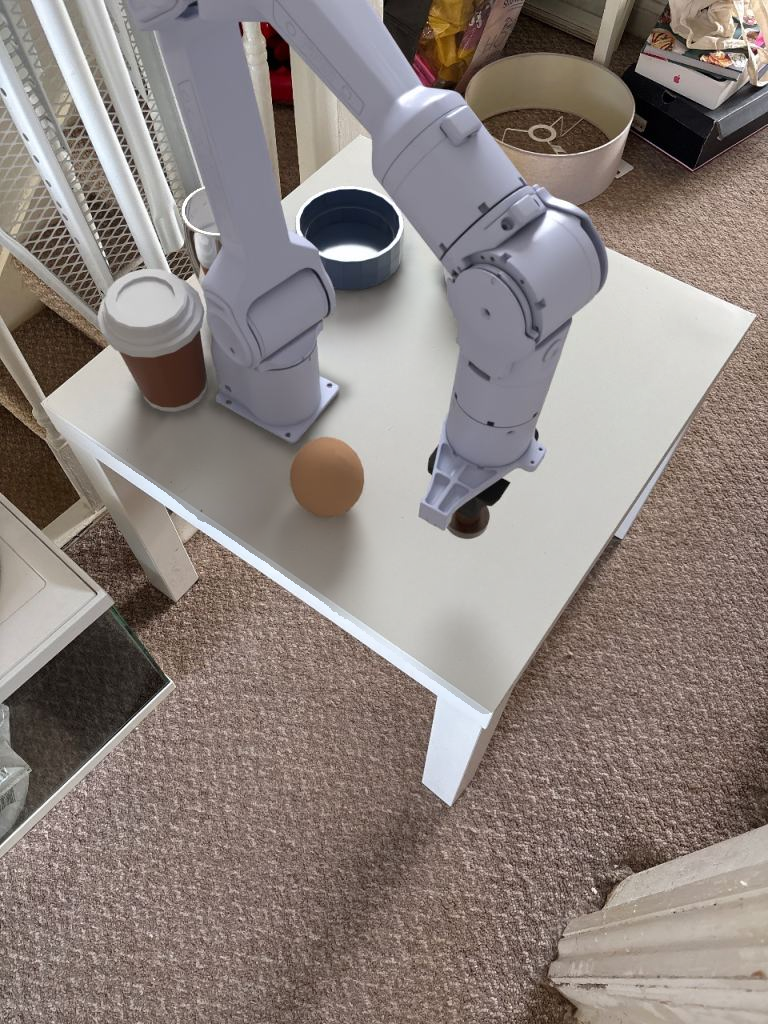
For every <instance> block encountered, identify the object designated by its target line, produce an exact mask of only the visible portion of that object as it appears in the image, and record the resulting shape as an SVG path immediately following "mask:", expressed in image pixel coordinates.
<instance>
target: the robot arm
mask: <svg viewBox="0 0 768 1024" xmlns="http://www.w3.org/2000/svg"><path fill="white" fill-rule="evenodd" d="M124 2H125V4H126V6H127V9H128V11H129V12H130V15H131V18H132V21H133V25H134V26H135V29H137V31H138V32H153V31H154V34H155V37H156V40H157V42H158V46H159V50H160V52H161V56H162V59H163V61H164V66H165V69H166V71H167V74H168V79H169V81H170V84H171V87H172V90H173V93H174V97H175V100H176V104H177V106H178V110H179V113H180V115H181V119H182V122H183V125H184V128H185V131H186V135H187V137H188V140H189V144H190V146H191V150H192V154H193V156H194V160H195V162H196V163H195V164H196V165H197V166H196V167H197V169H198V172H199V175H200V178H201V181H202V184H203V187H204V188H205V191H206V194H207V197H208V200H209V204H210V207H211V210H212V213H213V216H214V219H215V222H216V226H217V229H218V232H219V235H220V238H221V241H222V247H221V249H220V252H219V253H218V255H217V257H216V258H215V260H214V262H213V264H212V265H211V267H210V269H209V271H208V272H207V274H206V276H205V277H204V279H203V282H202V284H201V286H200V288H201V287H202V288H201V290H202V293H203V297H204V302H205V306H206V307H205V309H206V313H205V314H206V317H205V318H206V324H207V326H208V329H209V332H210V333H211V335H212V339H211V344H210V354H211V359H212V362H213V367H214V370H215V375H216V380H217V382H218V386H219V390H220V391H219V392H218V393H217V394H216V395H215V402H216V403H217V404H219V405H220V406H223V407H224V408H226V409H228V410H230V411H232V412H233V413H235V414H237V415H238V416H240V417H242V418H243V419H246V420H247V421H249V422H251V423H253V424H254V425H257V426H258V427H260V428H262V429H263V430H265V431H267V432H269V433H271V434H272V435H274V436H276V437H278V438H279V439H282V440H283V441H285V442H287V443H288V444H291V445H294V444H296V443H297V442H299V440H300V439H301V438H302V436H303V435H304V434H305V433H306V432H307V430H308V429H309V428H310V427H311V426H312V425H313V423H314V422H315V421H316V419H318V417H319V416H320V415H321V413H323V411H325V409H326V407H328V405H329V404H330V403H331V402H332V400H333V399H334V398H335V397H336V396H337V395H338V393H339V391H340V387H339V385H338V384H336V383H335V382H333V381H331V380H329V379H328V378H325V377H323V376H321V375H320V363H319V349H318V347H319V346H318V336H319V334H321V332H322V331H324V322H323V320H325V319H327V318H329V317H330V316H332V315H333V313H334V312H335V310H336V293H335V288H333V285H332V282H331V280H330V278H329V276H328V274H327V273H326V271H325V269H324V267H323V264H322V262H321V259H320V255H319V251H318V249H317V248H316V247H315V246H314V245H313V244H312V243H311V242H309V241H308V240H307V239H306V238H304V237H302V236H301V235H299V234H297V233H296V231H295V232H294V231H292V230H288V226H287V222H286V218H285V213H284V209H283V205H282V201H281V197H280V193H279V192H280V191H279V189H278V184H277V180H276V176H275V172H274V167H273V163H272V159H271V155H270V151H269V147H268V142H267V139H266V133H265V130H264V126H263V122H262V117H261V113H260V109H259V105H258V101H257V97H256V92H255V88H254V84H253V79H252V75H251V71H250V66H249V62H248V59H247V53H246V51H245V45H244V43H243V37H242V34H241V29H240V25H239V24H240V23H268V24H270V26H271V27H272V28H273V29H274V31H276V32H277V33H278V34H279V35H280V37H281V38H282V39H283V40H284V41H285V43H287V44H288V45H289V47H290V48H291V49H292V50H293V51H294V52H295V53H296V54H297V55H298V57H299V58H300V59H301V60H302V61H303V63H305V65H307V66H308V67H309V69H310V70H311V71H312V72H313V73H314V74H315V75H316V76H317V78H319V79H320V81H321V82H322V83H323V84H324V85H325V86H326V87H327V88H328V90H330V92H331V93H332V94H333V95H334V96H335V98H337V99H338V101H339V102H340V103H341V104H342V106H344V107H345V109H346V110H347V111H349V113H350V114H351V115H352V116H353V117H354V119H356V121H358V123H359V124H360V125H361V126H362V127H363V128H364V129H365V130H366V132H367V133H368V134H369V135H370V137H371V172H372V175H373V177H374V178H375V179H376V180H377V182H378V183H379V185H380V186H381V187H382V188H383V189H384V191H385V192H386V193H387V195H388V196H389V197H390V200H391V201H392V202H394V203H395V204H396V205H397V207H398V209H399V210H400V212H401V214H402V215H403V217H405V218H406V220H407V221H408V222H409V224H411V226H412V228H413V229H414V230H415V231H416V232H417V234H418V235H419V237H420V238H421V239H422V241H424V243H425V244H426V245H427V247H428V248H429V249H430V251H431V252H432V253H433V255H435V257H436V258H437V260H438V262H440V263H441V265H442V266H443V268H444V267H445V269H446V270H447V271H448V272H449V274H450V275H451V276H452V278H453V280H452V279H451V278H447V283H446V282H445V284H446V295H447V300H448V304H449V307H450V310H451V313H452V314H453V316H454V319H455V322H456V326H457V334H456V339H455V340H456V341H455V343H456V344H457V346H458V347H459V348H458V358H457V362H456V369H455V373H454V380H453V385H452V391H451V395H450V396H451V397H450V400H449V401H450V402H449V408H448V412H447V414H446V415H445V417H444V420H443V424H442V429H441V433H440V438H439V442H438V444H437V445H436V447H435V448H434V450H433V451H432V453H431V454H430V455H429V458H428V462H427V473H428V474H429V475H430V476H431V478H430V481H429V484H428V488H427V489H426V492H425V494H424V495H423V497H422V498H421V500H420V502H419V509H418V515H417V516H418V518H420V519H422V520H423V521H425V522H426V523H428V524H430V525H433V526H434V527H435V528H436V529H437V528H438V529H439V530H440V531H446V529H447V526H448V525H449V523H450V522H451V518H452V514H453V513H454V512H455V511H456V512H458V513H459V514H461V515H463V516H465V517H467V518H468V519H470V520H472V519H474V518H475V517H476V516H477V515H478V514H479V512H480V511H481V509H482V508H483V507H484V506H487V507H493V506H494V505H495V504H497V503H498V502H499V501H500V499H502V497H503V495H504V494H505V492H506V490H507V489H508V488H509V487H510V484H511V481H509V480H508V479H506V478H504V477H506V476H507V475H508V474H510V473H512V472H513V471H514V470H516V469H521V470H523V471H525V472H528V473H534V472H535V471H537V469H538V468H539V466H540V465H541V463H542V462H543V460H544V458H545V456H546V452H547V448H546V446H545V445H543V444H542V443H540V442H539V441H538V440H539V438H540V434H539V431H538V429H537V425H538V421H539V418H540V415H541V413H542V410H543V407H544V404H545V403H546V399H547V396H548V393H549V390H550V388H551V385H552V382H553V378H554V375H555V373H556V371H557V367H558V366H559V365H558V364H559V362H560V359H561V356H562V353H563V349H564V346H565V343H566V341H567V338H568V335H569V332H570V330H571V326H572V323H573V316H575V315H576V314H577V313H578V312H579V311H581V310H582V309H583V308H584V307H586V306H588V304H589V303H591V302H592V301H593V300H594V298H595V297H596V296H597V295H599V293H600V292H601V290H602V289H603V288H604V287H605V284H606V281H607V279H608V273H609V259H608V253H607V249H606V246H605V243H604V241H603V239H602V237H601V235H600V233H599V232H598V230H597V228H596V227H595V225H594V223H593V221H592V218H591V217H590V216H589V215H588V214H587V213H586V212H585V211H584V210H583V209H581V208H580V207H578V206H577V205H575V204H573V203H572V202H569V201H566V200H564V199H561V198H557V197H555V196H553V195H552V194H551V193H550V192H549V191H548V190H547V189H546V188H545V186H542V187H541V186H540V185H539V184H538V183H535V184H533V185H532V186H530V185H529V183H528V182H527V180H526V179H525V178H524V177H523V176H522V174H521V173H520V172H519V170H518V169H517V167H516V166H515V165H514V164H513V162H512V161H511V160H510V158H509V157H508V155H507V154H506V153H505V152H504V150H503V149H502V148H501V146H500V145H499V144H498V142H497V141H496V140H495V138H494V137H493V136H492V134H491V133H490V132H489V130H488V129H487V128H486V127H485V125H484V124H483V122H482V121H481V120H480V119H479V117H478V116H477V115H476V113H475V112H474V111H473V110H472V108H471V107H470V106H469V104H468V103H467V101H466V100H465V99H464V96H462V95H461V93H459V92H457V91H454V90H450V89H443V88H435V87H428V86H424V84H423V82H422V81H421V80H420V78H419V76H418V75H417V74H416V72H415V70H414V69H413V67H412V65H411V64H410V62H409V61H408V59H407V58H406V56H405V55H404V53H403V52H402V50H401V48H400V47H399V45H398V44H397V42H396V40H395V39H394V38H393V36H392V34H391V33H390V32H389V29H388V28H387V26H386V25H385V23H384V22H383V20H382V19H381V17H380V15H379V14H378V13H377V11H376V9H375V8H374V6H373V5H372V3H371V2H370V0H124Z"/></svg>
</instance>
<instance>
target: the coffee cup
mask: <svg viewBox="0 0 768 1024" xmlns="http://www.w3.org/2000/svg"><path fill="white" fill-rule="evenodd" d="M205 312H206V311H205V307H204V304H203V302H202V299H201V296H200V293H199V292H198V291H197V290H196V289H195V288H194V287H193V286H191V285H190V283H188V282H187V281H186V280H184V279H181V278H180V277H178V276H177V275H175V274H174V273H172V272H168V271H166V270H163V269H160V268H159V269H157V268H156V269H155V268H142V269H138V270H134V271H130V272H128V273H126V274H124V275H123V276H121V277H119V278H117V279H116V280H115V281H114V282H113V283H112V284H111V285H110V287H109V288H108V289H107V290H106V293H105V297H104V298H103V299H102V300H101V302H100V305H99V308H98V312H97V316H96V319H97V324H98V327H99V331H100V334H101V336H102V339H103V340H104V341H106V343H107V344H109V346H111V347H112V349H114V351H117V352H119V354H120V356H121V358H122V360H123V362H124V363H125V366H126V367H127V369H128V370H129V372H130V374H131V376H132V378H133V380H134V382H135V384H136V385H137V387H138V389H139V390H140V393H141V394H142V397H143V399H144V400H145V401H146V403H148V404H149V405H150V406H151V408H154V409H157V410H159V411H162V412H175V413H177V412H180V411H183V410H187V409H190V408H191V407H193V406H194V405H196V404H197V403H199V402H200V401H201V400H202V399H203V397H204V395H205V394H206V393H207V388H208V382H209V380H208V377H207V369H206V363H205V355H204V348H203V341H202V335H201V329H202V328H203V324H204V317H205Z"/></svg>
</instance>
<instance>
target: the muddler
mask: <svg viewBox="0 0 768 1024" xmlns="http://www.w3.org/2000/svg"><path fill="white" fill-rule="evenodd" d="M490 515H491V514H490V510H489V506H484V507H483V508H482V509H481V511H480V512H479V514H478V515H477V516H476V517H475V518H474V519H472V520H470V519H468V518H467V517H465V516H463V515H461V514H459V513H458V512H456V511H455V512H454V513H453V514H452V518H451V522H450V523H449V525H448V526H447V528H446V529H447V530H448V532H449V533H450V534H452V535H453V536H455V537H456V538H459V539H464V540H472V539H475V538H478V537H480V536H482V535H483V534H484V533H485V531H486V530H487V528H488V525H489V522H490V520H491V519H490V517H491V516H490Z"/></svg>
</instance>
